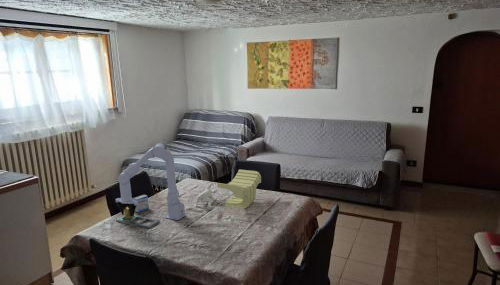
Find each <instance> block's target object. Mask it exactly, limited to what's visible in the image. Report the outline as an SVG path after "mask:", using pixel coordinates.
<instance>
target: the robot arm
mask: <svg viewBox="0 0 500 285" xmlns="http://www.w3.org/2000/svg"><path fill="white" fill-rule="evenodd" d="M155 158H158V159H161V160H162V161H164V162H165V171H166V180H167V181H166V182H167V197H166V205H167V206H166V207H167V215H166V216H165V217H164V218H166V219H170V220H176V221H179V220H181V219H182V218H183V217H185V216H186V215H187V214H186V210H185V204H184V203H182V202H181V200H180V198H179V196H180V192H179V190H178V187H177V182H176V181H177V180H176V170H175V168H176V167H175V158H174V154H173V153H172V152H171V150H170V149H169V148H168V146H167V145H166V144H164V143H160V142H158V143H156V144H155V146H153V147H151V148H149V150H148V151H146V152H145V153H144V154H143V155H142V156H141V157H140V158H139V159H138V160H137V161H136V162H132V163H129V164H128V167H126V168H125V169H123V170H122V172H121V173H119V175H118V177H117V181H118V183H119V191H120V197H117V198H115V203H117V204H116V206H117V208H118V209H119V211H120V212H121V213H120V214H121V216H123V208H124V207H128V208H129V211H130V216H131V217H132V216H134V215H135V213H136V212H135V209H136V206H137V205H138V201H135V200H133V198H134V197H132V186H131V179H132V178H133V177H134V176H135V175H136V174H137V173H139V171H140V170H141V167H142V166H143V164H145V163H146V162H147V161H148V160H150V159H155ZM127 204H129V205H127Z"/></svg>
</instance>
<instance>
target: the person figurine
mask: <svg viewBox="0 0 500 285" xmlns="http://www.w3.org/2000/svg"><path fill="white" fill-rule="evenodd" d="M212 185H217V182H216V181H215V182H209V184H208V185H207V186H206V188H205V190H204V191H202V192H200V193H199V194H198V196H197V198H196V202H195V204H194V205H193V208H195V209H196V208H197V207H198V204H199V202H202V203H208V204H207V206H206V207H207V209H213V208H214V206H213V205H212V204H213V203H214V201H215V202H216V201H217V200H218V198H219V197H220V193H217V192H218V190H217V188H213V189H212V190H211V186H212ZM216 193H217V196H216V197H214V196H213V194H216Z"/></svg>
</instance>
